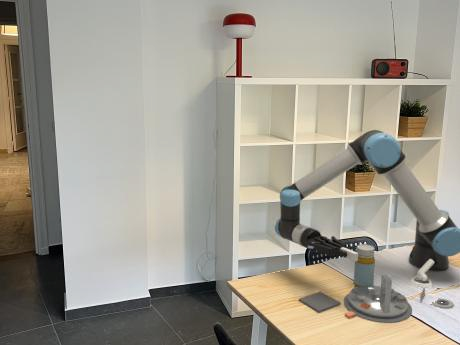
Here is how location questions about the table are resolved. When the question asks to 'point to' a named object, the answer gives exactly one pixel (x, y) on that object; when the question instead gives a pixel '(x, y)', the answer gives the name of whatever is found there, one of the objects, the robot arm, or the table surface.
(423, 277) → the hook
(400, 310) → the round flange disc
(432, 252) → the robot arm
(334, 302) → the pad
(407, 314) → the plate
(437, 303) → the bracket
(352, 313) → the pointer
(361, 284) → the bottle
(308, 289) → the table surface
